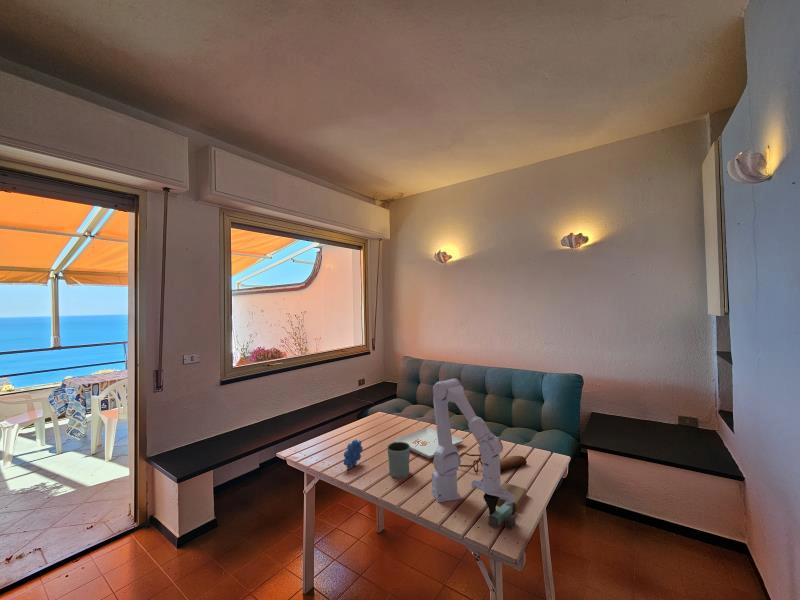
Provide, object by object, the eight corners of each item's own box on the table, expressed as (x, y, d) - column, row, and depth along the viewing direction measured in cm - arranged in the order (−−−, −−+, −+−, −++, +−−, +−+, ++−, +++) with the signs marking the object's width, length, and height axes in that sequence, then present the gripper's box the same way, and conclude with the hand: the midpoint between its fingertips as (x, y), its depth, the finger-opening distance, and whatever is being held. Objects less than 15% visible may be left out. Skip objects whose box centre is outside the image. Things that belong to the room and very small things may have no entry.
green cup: (405, 466, 147) (405, 440, 147) (414, 476, 137) (413, 448, 138) (384, 471, 143) (384, 443, 144) (392, 481, 134) (391, 452, 134)
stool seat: (530, 496, 120) (530, 489, 120) (511, 529, 102) (511, 521, 102) (505, 488, 126) (504, 482, 126) (482, 519, 108) (482, 511, 108)
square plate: (392, 446, 171) (392, 439, 171) (427, 433, 189) (427, 426, 189) (430, 463, 151) (429, 454, 151) (464, 446, 169) (464, 438, 169)
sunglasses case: (512, 457, 153) (517, 447, 150) (523, 470, 148) (528, 460, 145) (483, 466, 145) (488, 456, 142) (493, 480, 140) (498, 470, 137)
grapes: (355, 459, 156) (355, 434, 156) (366, 463, 152) (365, 437, 152) (337, 468, 146) (337, 442, 147) (347, 473, 142) (347, 445, 143)
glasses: (475, 474, 138) (475, 463, 139) (447, 468, 145) (447, 456, 146) (484, 462, 150) (484, 451, 150) (458, 456, 157) (458, 446, 157)
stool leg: (507, 507, 113) (507, 500, 113) (514, 511, 111) (514, 503, 111) (488, 524, 105) (488, 516, 105) (496, 528, 103) (495, 519, 103)
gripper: (517, 477, 106) (518, 519, 105) (478, 464, 116) (479, 502, 115) (508, 485, 101) (509, 530, 100) (467, 471, 110) (469, 511, 110)
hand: (492, 516), depth 107 cm, fingers closed, pressing on stool leg
